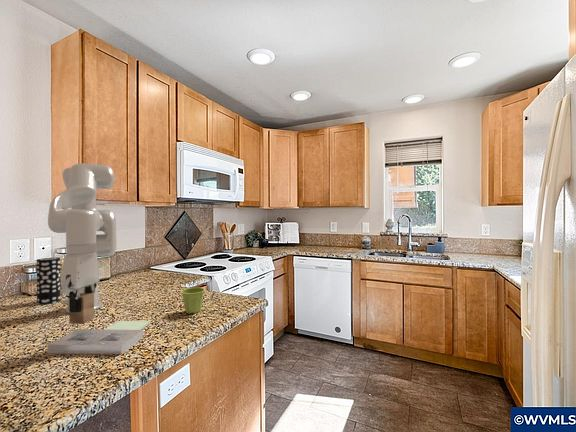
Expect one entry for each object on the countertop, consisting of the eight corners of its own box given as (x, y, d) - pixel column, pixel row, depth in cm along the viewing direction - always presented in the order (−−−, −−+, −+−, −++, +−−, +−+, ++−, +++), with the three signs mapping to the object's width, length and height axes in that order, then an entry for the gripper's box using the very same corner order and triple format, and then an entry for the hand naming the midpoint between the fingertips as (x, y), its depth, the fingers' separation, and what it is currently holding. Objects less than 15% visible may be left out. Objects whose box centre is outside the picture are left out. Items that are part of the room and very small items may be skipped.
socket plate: (47, 353, 82) (47, 344, 82) (77, 336, 93) (77, 329, 93) (121, 354, 81) (121, 345, 81) (142, 337, 92) (142, 329, 92)
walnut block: (69, 323, 85) (69, 297, 85) (80, 318, 90) (80, 293, 90) (83, 323, 85) (83, 297, 85) (94, 318, 89) (93, 293, 89)
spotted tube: (32, 303, 129) (32, 259, 129) (53, 298, 136) (53, 257, 136) (43, 305, 126) (43, 260, 126) (64, 300, 133) (64, 258, 133)
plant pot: (191, 316, 111) (191, 294, 111) (176, 312, 116) (176, 291, 116) (209, 310, 119) (209, 289, 119) (194, 306, 124) (194, 286, 124)
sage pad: (101, 333, 96) (101, 330, 96) (118, 323, 105) (118, 320, 105) (136, 333, 95) (136, 331, 95) (150, 323, 104) (150, 321, 104)
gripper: (89, 246, 96) (90, 300, 96) (45, 253, 79) (45, 319, 79) (111, 246, 95) (111, 300, 96) (71, 253, 79) (71, 319, 79)
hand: (82, 308), depth 87 cm, fingers closed on walnut block, 4 cm apart
